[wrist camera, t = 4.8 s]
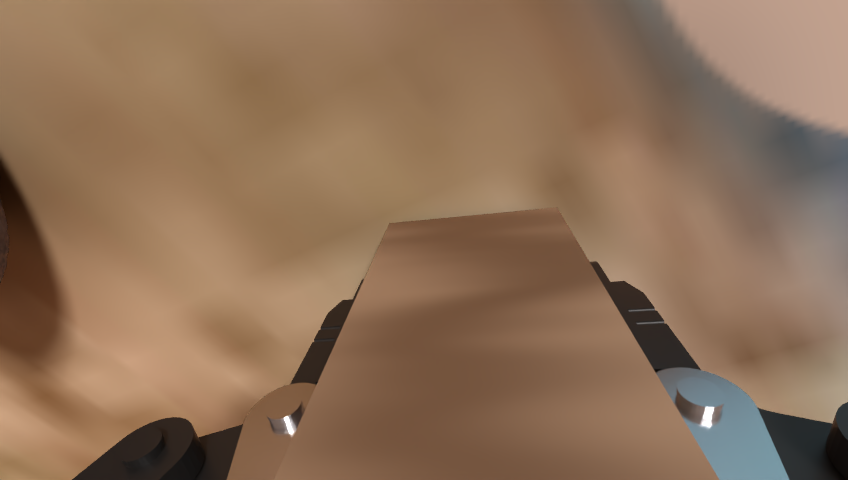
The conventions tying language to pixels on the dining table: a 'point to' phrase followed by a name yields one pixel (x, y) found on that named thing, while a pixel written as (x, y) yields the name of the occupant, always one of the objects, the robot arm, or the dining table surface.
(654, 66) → the dining table surface
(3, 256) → the perforated stone tool
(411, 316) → the brown l-shaped block
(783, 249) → the dining table surface
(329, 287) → the dining table surface
